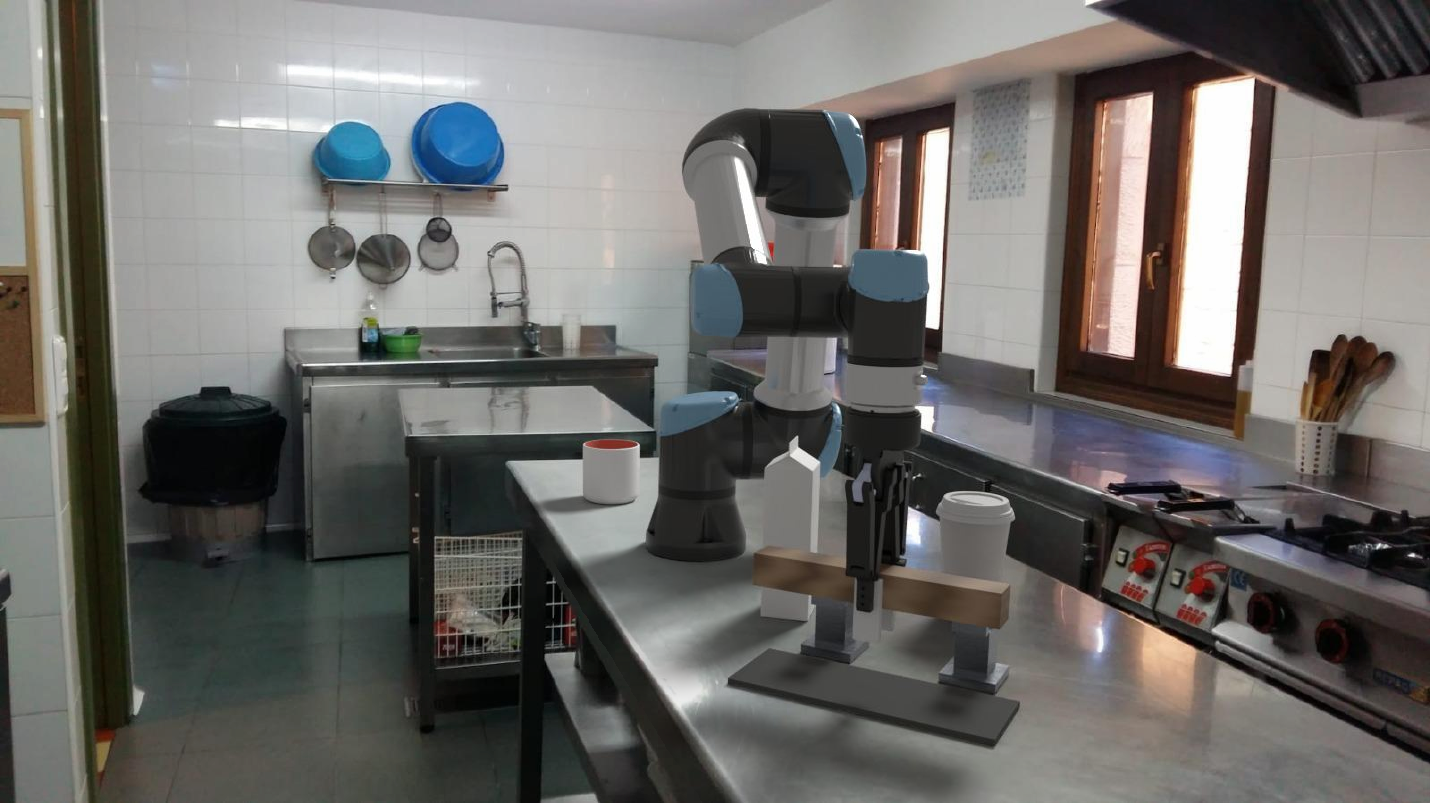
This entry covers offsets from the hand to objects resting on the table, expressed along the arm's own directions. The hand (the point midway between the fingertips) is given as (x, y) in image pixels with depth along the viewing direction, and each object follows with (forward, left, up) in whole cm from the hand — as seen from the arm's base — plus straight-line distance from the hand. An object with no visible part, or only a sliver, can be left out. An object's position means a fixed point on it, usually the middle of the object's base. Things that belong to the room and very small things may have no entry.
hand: (873, 633), depth 112 cm
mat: (0, 0, -7) cm, 7 cm away
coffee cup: (+2, +30, -7) cm, 31 cm away
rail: (0, 0, +3) cm, 3 cm away
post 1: (-8, +10, -7) cm, 15 cm away
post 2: (+8, +10, -7) cm, 14 cm away
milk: (-18, +19, -7) cm, 27 cm away
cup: (-70, +57, -7) cm, 91 cm away
